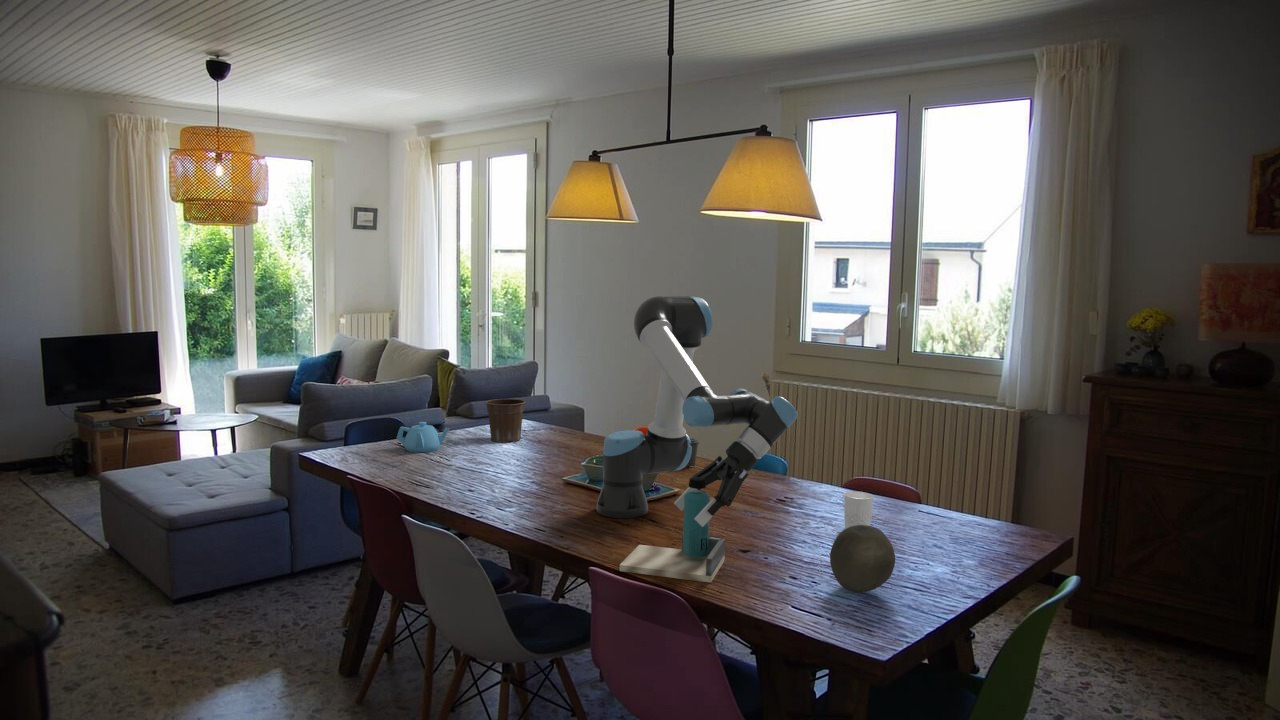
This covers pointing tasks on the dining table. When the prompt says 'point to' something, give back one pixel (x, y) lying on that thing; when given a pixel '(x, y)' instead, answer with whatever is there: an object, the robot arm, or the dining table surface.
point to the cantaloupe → (862, 558)
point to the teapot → (421, 438)
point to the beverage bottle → (692, 530)
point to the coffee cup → (693, 452)
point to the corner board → (676, 562)
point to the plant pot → (505, 419)
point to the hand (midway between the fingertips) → (687, 514)
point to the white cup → (857, 508)
